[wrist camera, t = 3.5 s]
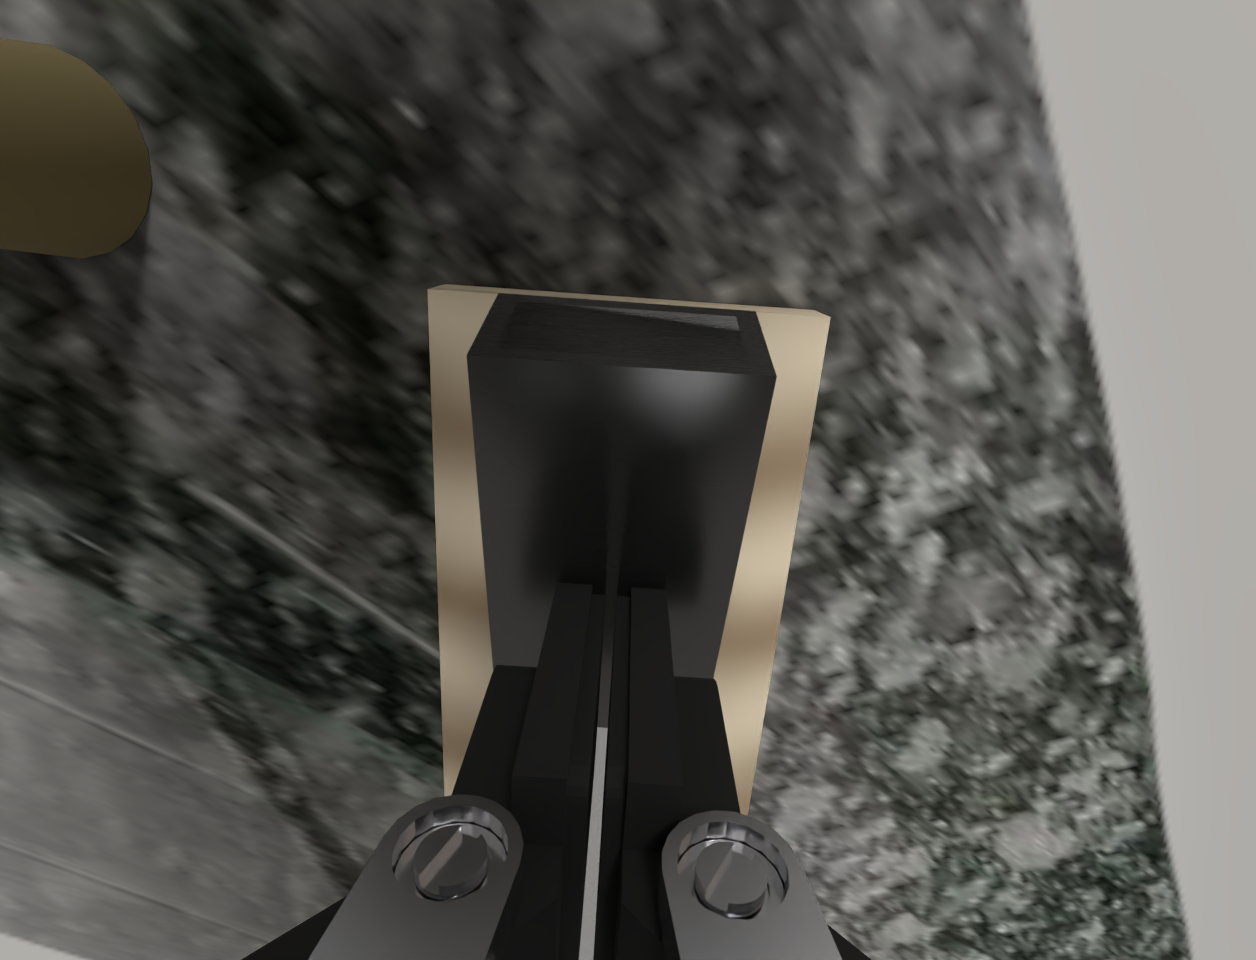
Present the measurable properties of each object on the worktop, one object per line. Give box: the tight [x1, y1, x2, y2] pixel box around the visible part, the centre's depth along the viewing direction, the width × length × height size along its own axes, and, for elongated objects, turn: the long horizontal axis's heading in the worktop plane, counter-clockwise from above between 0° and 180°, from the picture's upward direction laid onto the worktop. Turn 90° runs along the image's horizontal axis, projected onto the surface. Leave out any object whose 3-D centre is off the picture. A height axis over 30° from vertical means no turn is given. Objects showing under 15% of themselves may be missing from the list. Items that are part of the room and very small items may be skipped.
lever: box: [467, 293, 777, 960], centre depth 15 cm, size 19×4×4 cm, turn 176°
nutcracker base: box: [428, 284, 831, 816], centre depth 20 cm, size 21×12×12 cm, turn 176°
